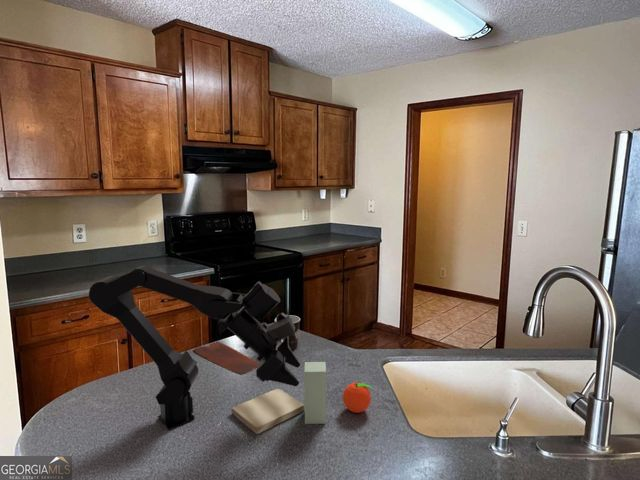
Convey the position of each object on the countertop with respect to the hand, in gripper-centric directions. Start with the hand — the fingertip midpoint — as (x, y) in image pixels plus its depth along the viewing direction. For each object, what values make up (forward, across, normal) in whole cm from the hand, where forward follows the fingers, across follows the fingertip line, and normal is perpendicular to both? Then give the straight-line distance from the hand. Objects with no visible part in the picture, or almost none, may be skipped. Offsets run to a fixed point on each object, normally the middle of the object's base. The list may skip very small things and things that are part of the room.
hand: (298, 374), depth 96 cm
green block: (+10, 0, +5) cm, 12 cm away
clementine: (+18, +3, -2) cm, 19 cm away
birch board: (+2, +2, +13) cm, 14 cm away
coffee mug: (+5, +42, +11) cm, 44 cm away
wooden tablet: (-9, +34, +26) cm, 43 cm away
